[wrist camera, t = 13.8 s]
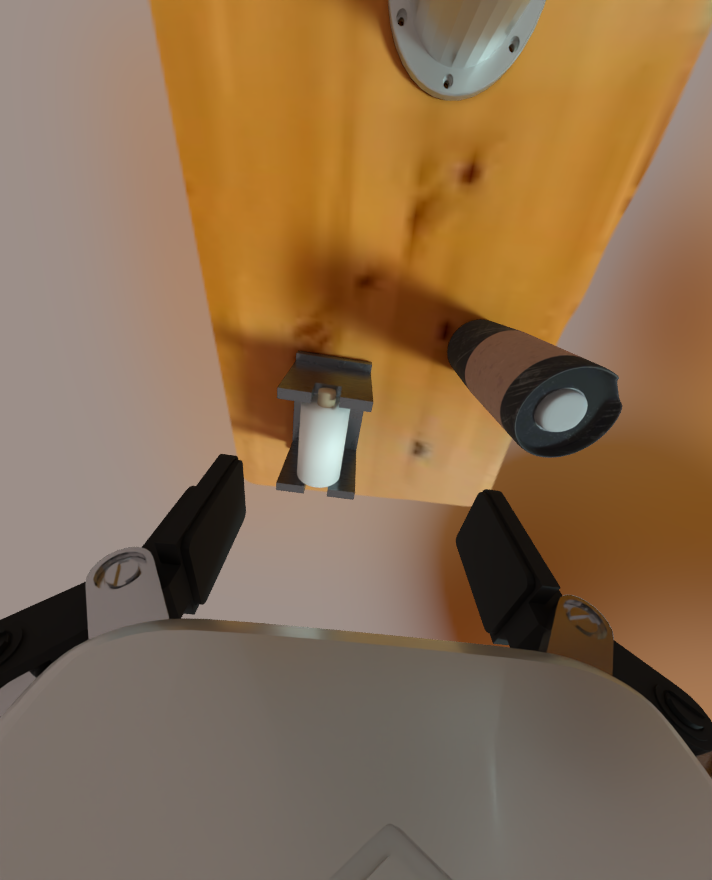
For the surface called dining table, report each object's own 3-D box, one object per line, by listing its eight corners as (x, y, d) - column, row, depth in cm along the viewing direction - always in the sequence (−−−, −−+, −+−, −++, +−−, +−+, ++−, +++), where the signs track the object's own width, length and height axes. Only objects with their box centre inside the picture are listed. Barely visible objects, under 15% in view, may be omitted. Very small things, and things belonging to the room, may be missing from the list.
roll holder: (298, 350, 38) (277, 378, 29) (371, 362, 39) (374, 393, 29) (293, 449, 46) (276, 495, 37) (354, 457, 47) (352, 505, 38)
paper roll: (306, 378, 34) (297, 397, 29) (353, 385, 34) (352, 405, 29) (300, 467, 41) (292, 494, 36) (339, 472, 41) (336, 499, 36)
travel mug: (435, 368, 39) (492, 447, 22) (460, 309, 35) (552, 350, 18) (486, 382, 40) (579, 468, 23) (515, 326, 36) (653, 380, 19)
